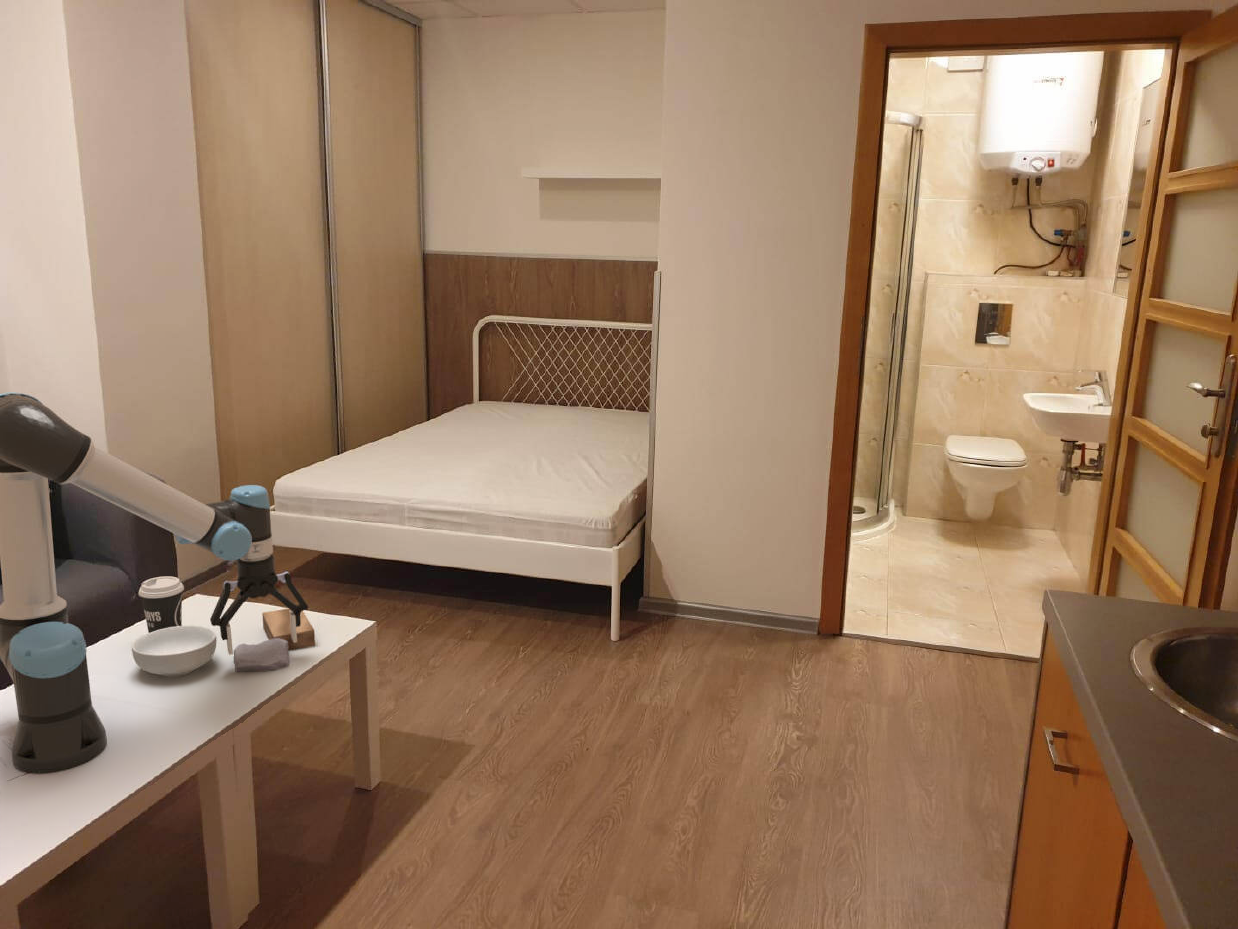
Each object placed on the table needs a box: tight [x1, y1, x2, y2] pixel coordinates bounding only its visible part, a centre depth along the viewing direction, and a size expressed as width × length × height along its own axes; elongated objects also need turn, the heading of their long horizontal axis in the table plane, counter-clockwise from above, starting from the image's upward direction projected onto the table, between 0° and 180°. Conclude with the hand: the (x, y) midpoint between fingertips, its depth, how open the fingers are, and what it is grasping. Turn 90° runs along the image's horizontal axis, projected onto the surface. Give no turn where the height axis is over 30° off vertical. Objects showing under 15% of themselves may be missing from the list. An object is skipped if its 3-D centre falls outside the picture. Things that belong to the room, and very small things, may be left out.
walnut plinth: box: [262, 608, 316, 652], centre depth 228 cm, size 9×16×4 cm, turn 29°
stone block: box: [233, 638, 291, 672], centre depth 215 cm, size 12×5×10 cm
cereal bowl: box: [131, 625, 217, 678], centre depth 210 cm, size 17×17×7 cm
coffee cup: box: [138, 575, 185, 633], centre depth 222 cm, size 10×10×15 cm
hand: (262, 646), depth 213 cm, fingers open, 13 cm apart
